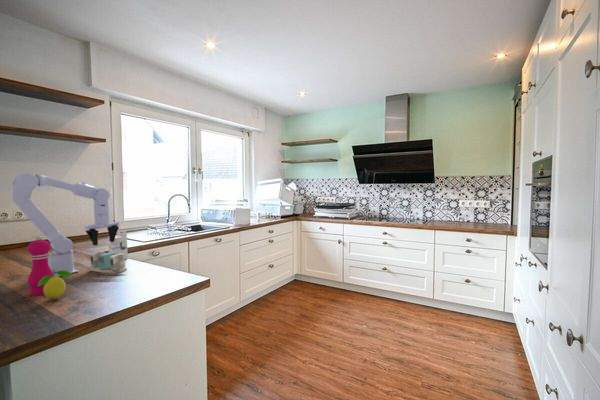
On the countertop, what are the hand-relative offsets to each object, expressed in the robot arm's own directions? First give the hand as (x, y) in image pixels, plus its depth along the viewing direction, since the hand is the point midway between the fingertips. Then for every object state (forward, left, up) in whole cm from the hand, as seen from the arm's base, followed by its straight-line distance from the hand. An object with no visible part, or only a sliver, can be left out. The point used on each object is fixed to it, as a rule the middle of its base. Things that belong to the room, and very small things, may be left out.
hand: (103, 243), depth 132 cm
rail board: (-5, -9, -10) cm, 15 cm away
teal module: (-5, -9, -9) cm, 14 cm away
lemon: (-32, -25, -11) cm, 42 cm away
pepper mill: (-30, -13, -11) cm, 35 cm away
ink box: (+10, +5, -11) cm, 15 cm away
